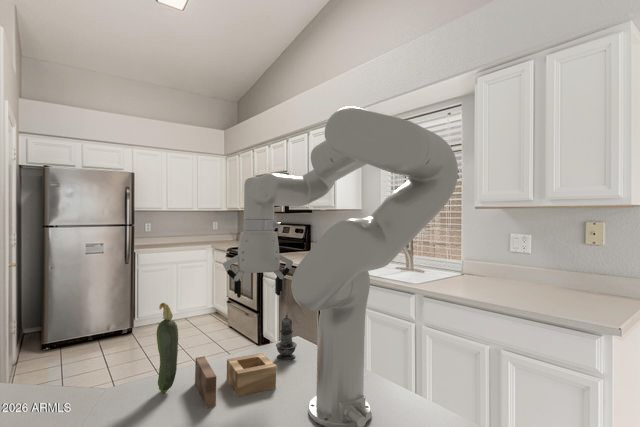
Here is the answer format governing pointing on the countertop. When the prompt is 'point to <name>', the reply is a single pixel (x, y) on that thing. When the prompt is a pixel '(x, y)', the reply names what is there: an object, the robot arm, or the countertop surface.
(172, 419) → the countertop surface
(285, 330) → the ornate incense burner
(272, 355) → the countertop surface
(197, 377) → the wall
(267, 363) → the socket block
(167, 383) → the vegetable
